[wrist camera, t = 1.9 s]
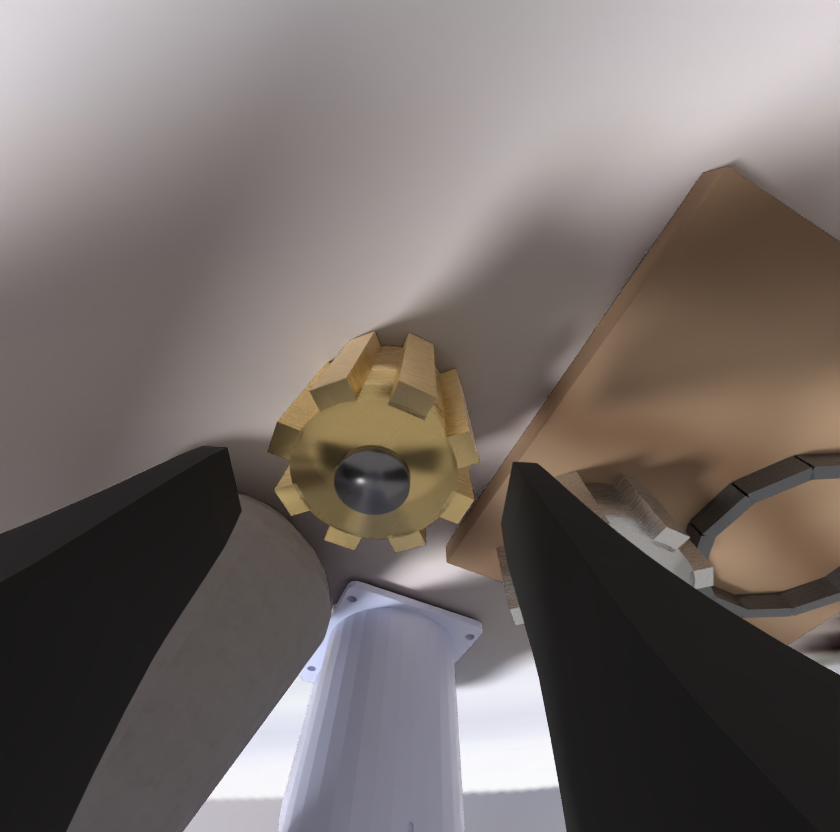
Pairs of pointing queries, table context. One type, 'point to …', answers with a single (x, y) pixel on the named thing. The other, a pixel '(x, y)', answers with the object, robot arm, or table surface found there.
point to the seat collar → (740, 500)
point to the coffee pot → (212, 679)
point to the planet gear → (378, 445)
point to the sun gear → (631, 530)
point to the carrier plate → (706, 392)
